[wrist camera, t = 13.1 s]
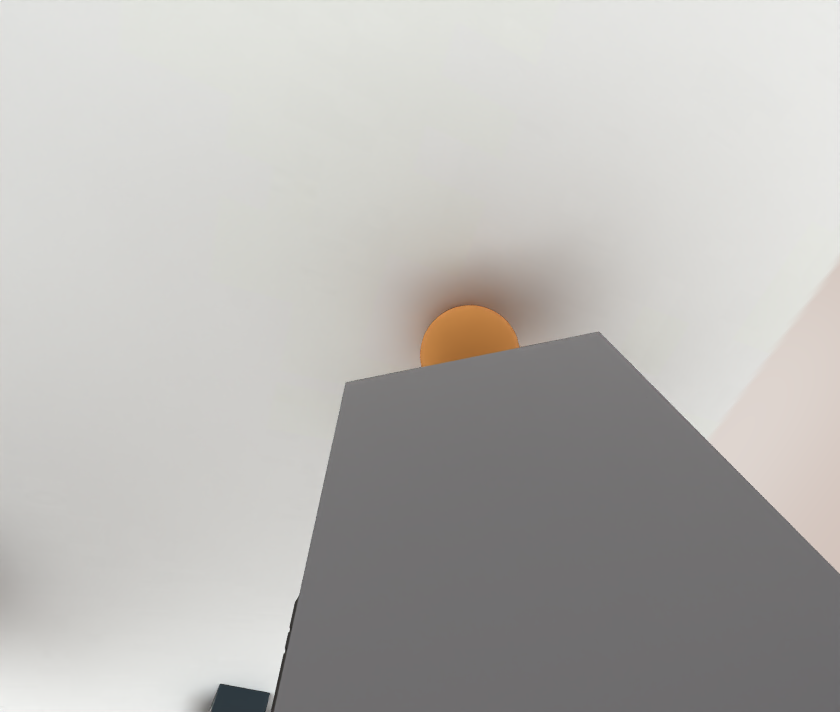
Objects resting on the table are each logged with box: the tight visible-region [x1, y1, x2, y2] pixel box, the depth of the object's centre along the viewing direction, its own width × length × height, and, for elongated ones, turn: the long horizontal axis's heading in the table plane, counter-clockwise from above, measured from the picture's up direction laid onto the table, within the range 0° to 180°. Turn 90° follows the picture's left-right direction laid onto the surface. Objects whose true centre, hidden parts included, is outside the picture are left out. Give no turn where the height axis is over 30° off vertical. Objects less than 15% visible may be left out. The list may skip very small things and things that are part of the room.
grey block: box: [274, 332, 840, 712], centre depth 10 cm, size 7×7×9 cm
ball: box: [420, 305, 520, 367], centre depth 23 cm, size 5×5×5 cm
